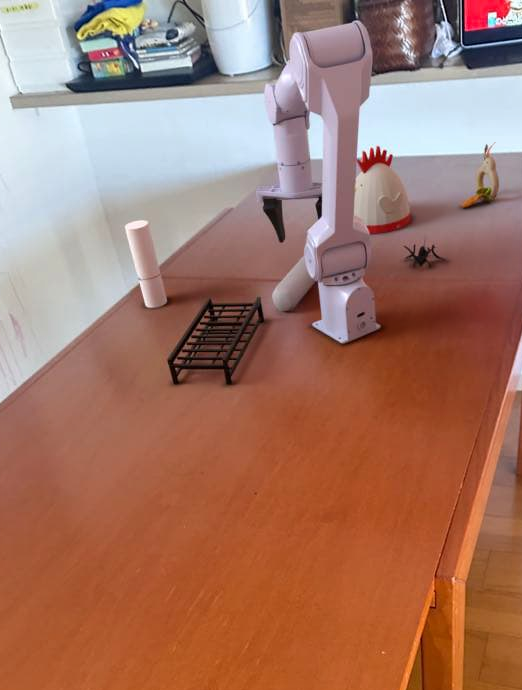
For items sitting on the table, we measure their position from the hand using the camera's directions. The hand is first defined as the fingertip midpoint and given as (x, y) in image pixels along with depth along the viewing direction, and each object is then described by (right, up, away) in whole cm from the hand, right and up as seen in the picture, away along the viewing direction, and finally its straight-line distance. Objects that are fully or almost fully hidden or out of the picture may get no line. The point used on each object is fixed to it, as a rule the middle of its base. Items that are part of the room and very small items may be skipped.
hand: (302, 239), depth 140 cm
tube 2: (+1, -7, +6) cm, 9 cm away
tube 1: (-28, -9, +8) cm, 31 cm away
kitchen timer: (+17, +14, +26) cm, 34 cm away
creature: (+24, -2, +7) cm, 25 cm away
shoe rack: (-14, -23, -10) cm, 29 cm away
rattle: (+39, +19, +28) cm, 51 cm away
